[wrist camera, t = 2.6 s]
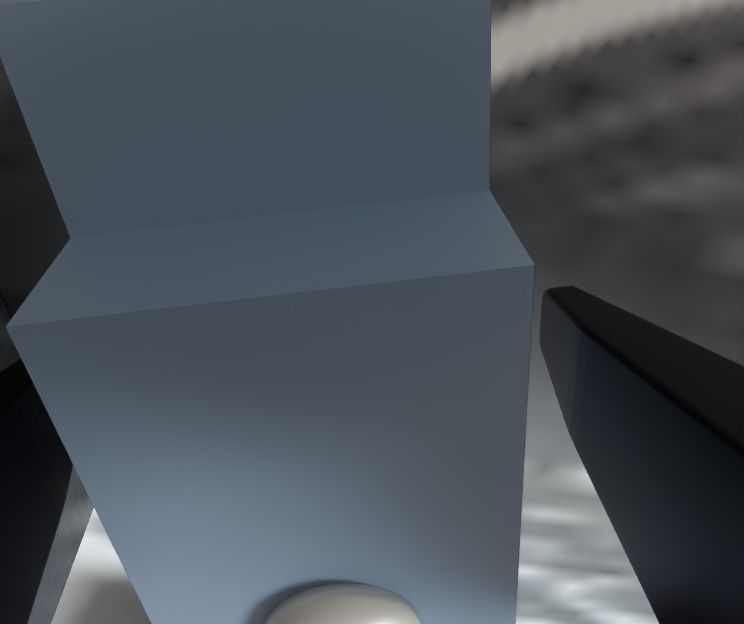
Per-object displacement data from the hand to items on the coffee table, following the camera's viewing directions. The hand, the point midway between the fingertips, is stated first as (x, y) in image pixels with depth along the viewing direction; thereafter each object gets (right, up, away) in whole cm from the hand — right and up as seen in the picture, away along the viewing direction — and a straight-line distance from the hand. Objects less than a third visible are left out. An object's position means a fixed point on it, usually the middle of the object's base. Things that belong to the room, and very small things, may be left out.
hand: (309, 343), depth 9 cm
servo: (0, +1, +1) cm, 1 cm away
